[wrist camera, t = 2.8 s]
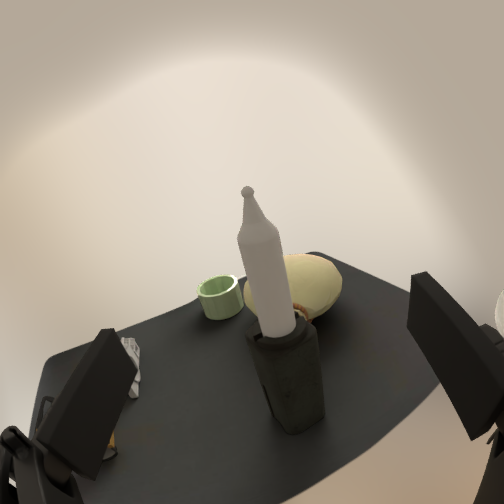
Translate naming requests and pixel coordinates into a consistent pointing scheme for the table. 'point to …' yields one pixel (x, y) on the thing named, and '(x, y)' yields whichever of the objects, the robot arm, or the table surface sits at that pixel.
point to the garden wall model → (134, 355)
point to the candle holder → (220, 297)
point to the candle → (279, 327)
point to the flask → (307, 285)
